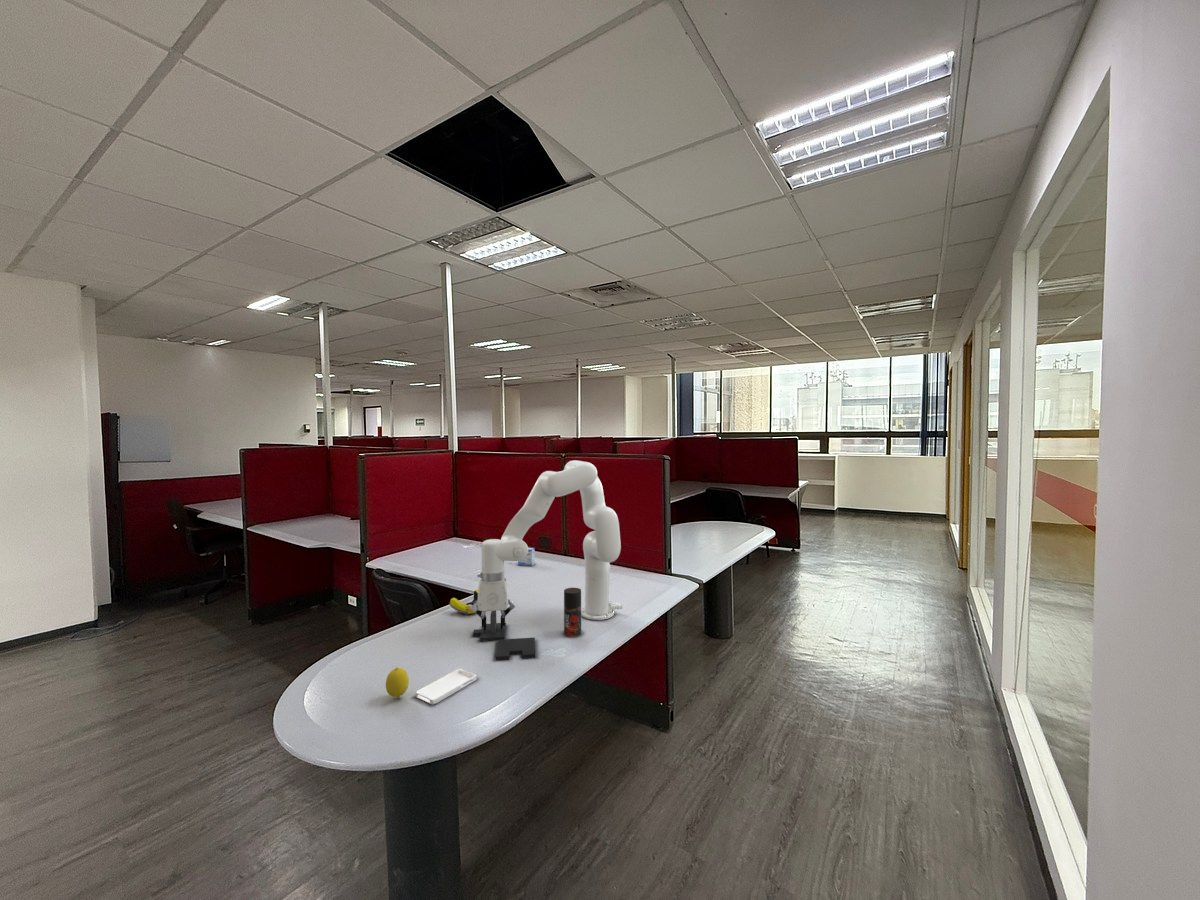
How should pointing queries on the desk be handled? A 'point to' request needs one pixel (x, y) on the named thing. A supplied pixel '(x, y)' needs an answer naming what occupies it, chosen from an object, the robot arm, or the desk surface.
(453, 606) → the gaming controller
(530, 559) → the blue and white box
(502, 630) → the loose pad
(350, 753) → the desk surface
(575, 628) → the deodorant
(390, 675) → the lemon
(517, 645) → the base pad
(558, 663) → the desk surface
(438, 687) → the phone case
